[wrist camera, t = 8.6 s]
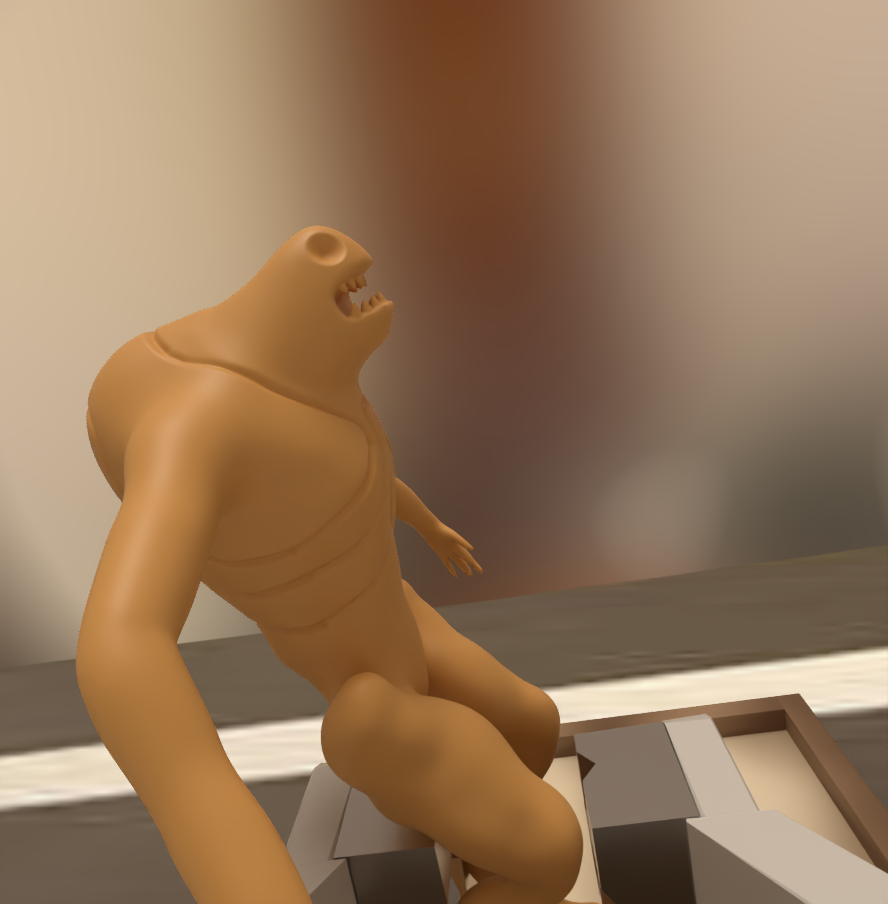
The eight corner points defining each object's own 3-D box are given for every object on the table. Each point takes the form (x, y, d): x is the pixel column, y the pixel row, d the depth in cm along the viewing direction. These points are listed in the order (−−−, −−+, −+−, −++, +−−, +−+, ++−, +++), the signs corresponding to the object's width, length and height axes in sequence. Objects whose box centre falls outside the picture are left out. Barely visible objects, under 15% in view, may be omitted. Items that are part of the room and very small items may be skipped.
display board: (343, 1200, 20) (322, 1126, 19) (406, 791, 35) (396, 744, 35) (1075, 1148, 18) (1076, 1066, 18) (803, 743, 34) (799, 693, 33)
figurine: (1113, 2061, 5) (1316, -75, 2) (187, 2051, 5) (-593, 250, 3) (710, 937, 13) (650, 202, 10) (362, 967, 13) (218, 269, 11)
